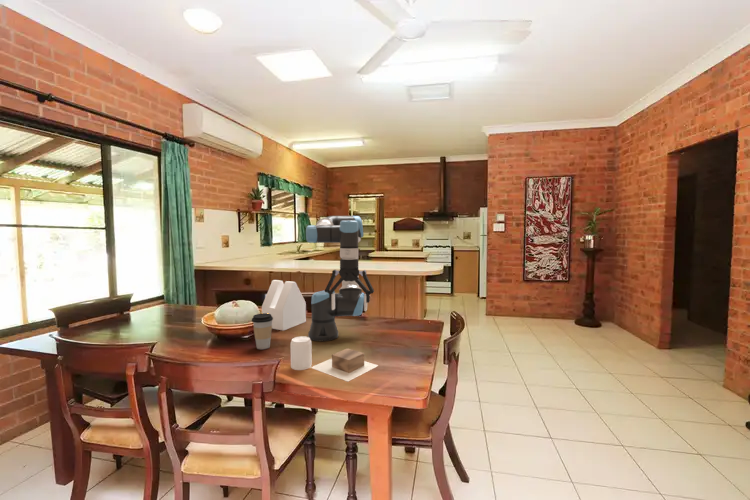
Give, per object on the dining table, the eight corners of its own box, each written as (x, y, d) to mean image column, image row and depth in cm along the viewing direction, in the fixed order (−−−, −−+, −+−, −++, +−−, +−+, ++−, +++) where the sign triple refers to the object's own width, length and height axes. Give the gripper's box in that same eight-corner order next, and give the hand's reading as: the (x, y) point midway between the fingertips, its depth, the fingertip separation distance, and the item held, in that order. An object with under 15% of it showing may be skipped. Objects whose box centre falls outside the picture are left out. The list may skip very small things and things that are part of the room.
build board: (310, 370, 136) (310, 367, 136) (341, 356, 150) (341, 354, 150) (348, 384, 124) (348, 381, 124) (378, 368, 138) (378, 365, 138)
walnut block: (331, 367, 136) (331, 354, 136) (347, 360, 144) (347, 348, 143) (349, 373, 131) (349, 360, 131) (364, 365, 138) (364, 353, 138)
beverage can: (292, 365, 142) (292, 336, 141) (312, 364, 142) (312, 335, 141) (289, 373, 134) (288, 342, 133) (310, 372, 134) (310, 342, 133)
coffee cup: (277, 345, 165) (277, 313, 164) (265, 351, 156) (264, 319, 155) (260, 342, 168) (260, 312, 167) (247, 349, 159) (246, 317, 158)
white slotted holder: (285, 318, 212) (285, 277, 210) (305, 321, 205) (305, 279, 203) (262, 326, 195) (261, 282, 193) (283, 330, 188) (282, 284, 186)
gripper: (316, 258, 140) (317, 310, 142) (378, 259, 137) (378, 313, 138) (322, 257, 147) (322, 306, 149) (380, 258, 144) (380, 308, 146)
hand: (349, 309), depth 144 cm, fingers open, 13 cm apart
